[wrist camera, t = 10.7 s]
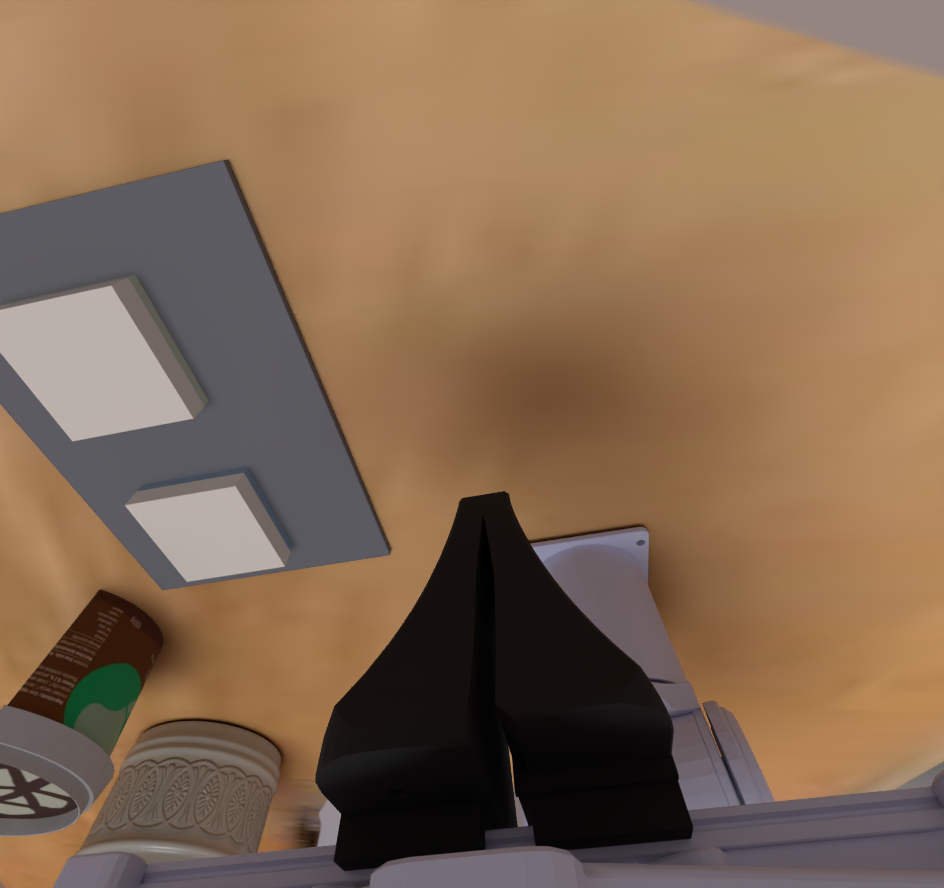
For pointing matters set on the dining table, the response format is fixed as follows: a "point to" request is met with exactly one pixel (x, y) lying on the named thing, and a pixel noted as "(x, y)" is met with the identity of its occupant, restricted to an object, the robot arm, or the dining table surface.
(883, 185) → the dining table surface
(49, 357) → the tile sage
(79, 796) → the food container
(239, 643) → the dining table surface
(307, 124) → the dining table surface
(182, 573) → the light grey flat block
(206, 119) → the dining table surface
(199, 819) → the jar
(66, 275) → the mat
